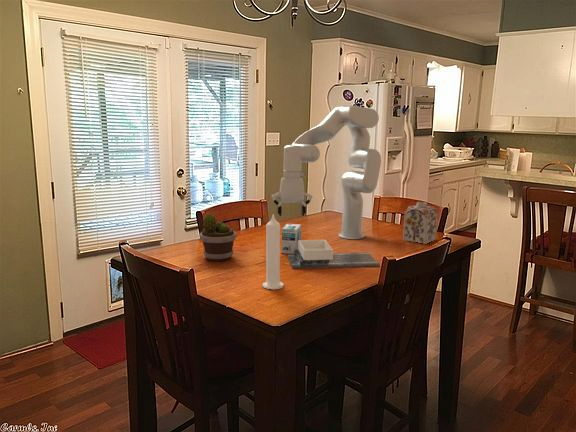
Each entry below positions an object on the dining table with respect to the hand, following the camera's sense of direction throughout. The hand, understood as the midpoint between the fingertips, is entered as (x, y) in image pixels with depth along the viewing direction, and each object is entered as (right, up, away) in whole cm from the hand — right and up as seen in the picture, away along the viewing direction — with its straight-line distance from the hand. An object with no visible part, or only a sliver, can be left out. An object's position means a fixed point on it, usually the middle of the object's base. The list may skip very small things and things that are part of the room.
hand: (291, 215), depth 204 cm
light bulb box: (0, -15, +3) cm, 16 cm away
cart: (+9, -17, -13) cm, 23 cm away
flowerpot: (-30, -18, -8) cm, 35 cm away
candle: (-7, -24, -40) cm, 47 cm away
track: (+16, -18, -11) cm, 27 cm away
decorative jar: (+60, -12, +23) cm, 65 cm away
